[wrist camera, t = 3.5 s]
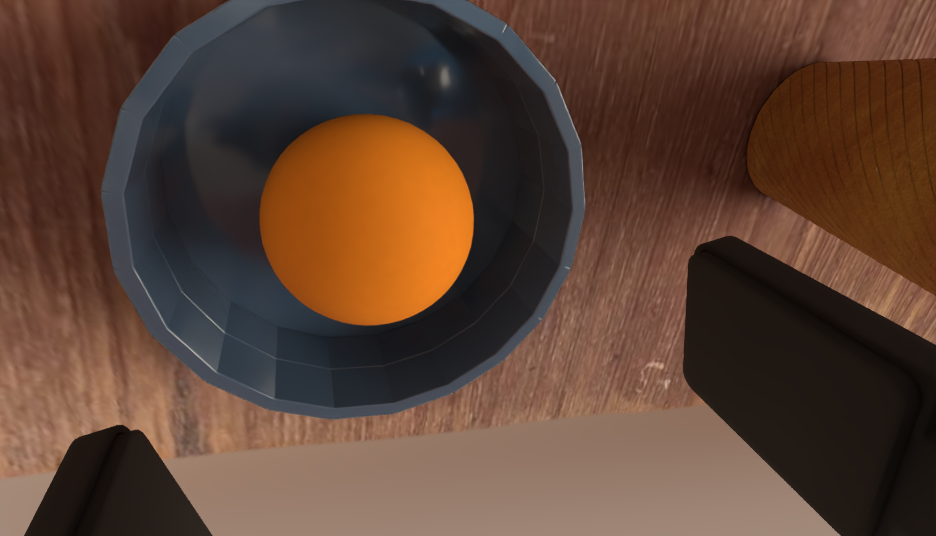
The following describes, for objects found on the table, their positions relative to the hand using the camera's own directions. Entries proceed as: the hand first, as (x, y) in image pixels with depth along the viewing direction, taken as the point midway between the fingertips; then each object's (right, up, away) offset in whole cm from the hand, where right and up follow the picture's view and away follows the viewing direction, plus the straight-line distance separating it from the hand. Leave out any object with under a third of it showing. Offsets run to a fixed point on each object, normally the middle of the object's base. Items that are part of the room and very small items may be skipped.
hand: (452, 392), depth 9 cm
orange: (-3, +4, +7) cm, 9 cm away
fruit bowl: (-4, +5, +11) cm, 12 cm away
